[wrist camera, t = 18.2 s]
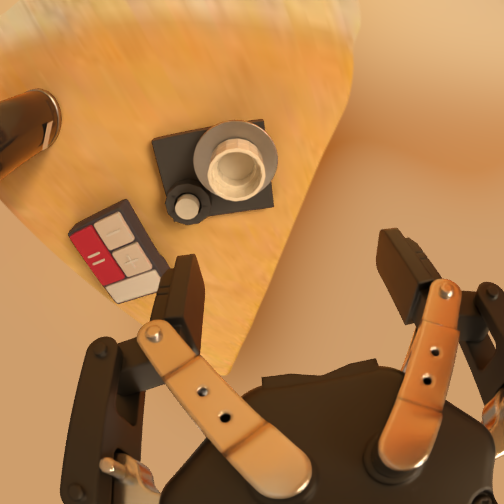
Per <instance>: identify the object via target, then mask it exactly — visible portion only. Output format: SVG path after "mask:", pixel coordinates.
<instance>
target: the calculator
mask: <svg viewBox="0 0 504 504" xmlns="http://www.w3.org/2000/svg"><path fill="white" fill-rule="evenodd" d="M68 236H69V237H70V239H71V241H72V242H73V244H74V245H75V247H76V248H77V250H78V251H79V253H80V254H81V256H82V257H83V259H84V260H85V262H86V263H87V265H88V266H89V267H90V269H91V270H92V272H93V273H94V274H95V276H96V277H97V279H98V280H99V281H100V283H101V284H102V285H103V286H104V288H105V289H106V290H107V292H108V293H109V294H110V296H111V297H112V298H113V300H114V301H115V302H116V303H117V304H120V303H123V302H127V301H130V300H133V299H137V298H140V297H143V296H146V295H150V294H153V293H156V292H157V290H158V286H159V282H160V278H161V277H162V275H163V274H164V273H165V272H166V270H167V269H170V267H169V266H168V264H167V262H166V261H165V259H164V257H162V256H161V255H160V254H159V253H158V251H157V249H156V248H155V246H154V244H153V243H152V241H151V239H150V238H149V236H148V234H147V233H146V231H145V229H144V228H143V226H142V224H141V222H140V221H139V219H138V217H137V215H136V214H135V212H134V210H133V208H132V207H131V205H130V203H129V201H128V200H127V199H124V200H122V201H120V202H118V203H116V204H114V205H112V206H110V207H108V208H106V209H104V210H102V211H100V212H98V213H96V214H94V215H92V216H90V217H88V218H86V219H84V220H82V221H80V222H78V223H77V224H75V225H74V227H73V228H72V229H71V230H70V231H69V233H68Z"/></svg>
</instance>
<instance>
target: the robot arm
mask: <svg viewBox="0 0 504 504" xmlns="http://www.w3.org/2000/svg"><path fill="white" fill-rule="evenodd" d="M60 128H61V111H60V107H59V104H58V102H57V100H56V99H55V97H54V96H53V95H52V94H51V93H49V92H48V91H46V90H43V89H33V90H30V91H27V92H25V93H23V94H20V95H17V96H14V97H11V98H8V99H6V100H3V101H0V180H2V179H3V178H4V177H6V176H7V175H8V174H9V173H11V172H12V171H13V170H15V169H16V168H17V167H19V166H20V165H22V164H23V163H24V162H26V161H27V160H29V159H30V158H31V157H33V156H34V155H36V154H37V153H39V152H40V151H43V150H45V149H46V148H48V147H49V146H50V145H51V144H52V143H53V142H54V141H55V140H56V138H57V136H58V134H59V131H60ZM376 265H377V270H378V272H379V274H380V276H381V278H382V279H383V281H384V283H385V285H386V287H387V289H388V291H389V293H390V295H391V297H392V299H393V301H394V303H395V305H396V307H397V309H398V311H399V313H400V315H401V318H402V320H403V322H404V324H405V325H408V324H412V323H415V325H416V328H415V331H414V334H413V337H412V340H411V343H410V346H409V349H408V352H407V355H406V358H405V361H404V364H403V366H402V369H401V371H400V370H397V369H394V368H391V367H385V366H378V363H377V360H376V359H370V360H366V361H361V362H356V363H351V364H348V365H346V366H344V367H341V368H339V369H337V370H334V371H332V372H330V373H327V374H325V375H321V376H316V375H301V374H285V375H278V376H269V377H262V386H259V387H256V388H254V389H252V390H250V391H248V392H247V393H245V394H244V395H243V396H241V397H240V396H239V395H238V394H237V393H236V392H235V391H234V390H233V389H232V388H231V387H230V386H229V384H228V383H226V382H225V380H224V379H223V378H221V376H220V375H219V374H218V373H217V372H216V371H215V370H214V369H213V368H212V367H211V365H210V364H209V363H208V362H207V361H206V360H205V359H204V358H203V357H202V356H201V355H200V348H201V335H202V323H203V312H204V301H205V286H204V281H203V278H202V275H201V271H200V268H199V265H198V261H197V258H196V255H195V254H190V255H182V256H177V258H176V262H175V267H174V268H173V269H167V270H166V272H165V273H164V274H163V275H162V277H161V278H160V282H159V286H158V290H157V293H156V294H157V296H156V297H155V301H154V305H153V309H152V313H151V317H150V322H148V323H146V324H145V325H143V326H142V327H141V328H140V330H139V332H138V334H137V337H135V338H133V339H130V340H127V341H124V342H121V343H118V344H117V343H116V341H115V340H114V339H113V338H111V337H101V338H98V339H96V340H95V341H93V343H91V344H90V346H89V347H88V349H87V352H86V355H85V359H84V362H83V366H82V370H81V374H80V378H79V382H78V386H77V391H76V395H75V399H74V404H73V408H72V413H71V418H70V424H69V429H68V435H67V440H66V446H65V454H64V460H63V468H62V475H61V484H60V496H61V499H62V501H63V503H64V504H498V503H497V502H496V500H495V498H494V495H493V488H492V479H493V468H494V462H495V460H496V459H498V458H500V457H502V456H504V292H503V290H502V289H501V288H500V287H499V286H497V285H496V284H494V283H491V282H483V283H481V284H480V285H479V287H478V289H477V291H476V292H471V291H461V290H460V288H459V286H458V285H457V284H455V283H454V282H452V281H451V280H448V279H442V277H441V276H440V274H439V273H438V272H437V270H436V269H435V267H434V266H433V264H432V263H431V262H430V260H429V259H427V256H426V255H425V254H424V253H423V251H422V249H421V248H420V247H419V245H418V244H417V243H416V242H414V241H413V240H411V239H410V238H405V237H404V236H403V235H402V233H401V232H400V231H399V230H398V228H391V229H383V230H381V231H380V233H379V241H378V247H377V255H376ZM488 331H490V333H491V335H492V336H493V338H494V340H495V342H496V349H495V347H494V345H493V343H492V341H491V339H490V337H489V335H488ZM458 342H459V344H460V346H461V348H462V350H463V353H464V355H465V357H466V360H467V362H468V364H469V367H470V369H471V372H472V374H473V377H474V379H475V382H476V384H477V387H478V389H479V392H480V395H481V397H482V400H483V403H484V406H485V407H484V409H483V412H482V422H481V423H480V422H479V421H477V420H476V419H474V418H473V417H471V416H470V415H468V414H466V413H465V412H463V411H462V410H460V409H459V408H457V407H455V406H454V405H453V404H451V403H450V402H448V401H447V400H445V399H446V396H447V391H448V388H449V384H450V380H451V376H452V372H453V367H454V363H455V357H456V353H457V347H458ZM163 384H166V386H167V387H168V389H169V390H170V391H171V393H172V394H173V395H174V397H175V398H176V399H177V401H178V402H179V403H180V405H181V406H182V407H183V409H184V410H185V411H186V412H187V414H188V415H189V416H190V417H191V419H192V420H193V421H194V422H195V424H196V425H197V426H198V428H199V429H200V430H201V431H202V432H203V434H204V435H205V436H206V439H205V440H204V441H203V442H202V443H201V444H200V446H199V447H198V448H197V449H196V450H195V452H194V453H193V454H192V455H191V456H190V458H189V459H188V460H187V461H186V463H184V465H183V466H182V467H181V468H180V469H179V470H178V471H177V473H176V474H175V475H174V476H173V477H172V478H171V479H170V480H169V482H168V483H167V484H166V485H165V487H164V488H163V491H162V493H160V492H159V491H158V490H157V489H156V487H155V485H154V480H153V476H152V473H151V471H150V470H149V468H148V467H147V466H145V465H144V464H142V463H140V460H141V441H142V425H143V414H144V402H145V392H146V390H148V389H151V388H154V387H157V386H160V385H163Z"/></svg>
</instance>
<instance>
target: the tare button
mask: <svg viewBox="0 0 504 504" xmlns="http://www.w3.org/2000/svg"><path fill="white" fill-rule="evenodd" d="M199 206H200V203H199V200H198V198H197V197H196V196H194V195H192V194H183V195H181V196H180V197H179V198H178V200H177V203H176V206H175V211H176V213H177V215H178V216H179V217H181V218H183V219H192V218H194V217H195V216H196V215H197V214H198V211H199Z"/></svg>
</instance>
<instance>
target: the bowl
mask: <svg viewBox="0 0 504 504" xmlns="http://www.w3.org/2000/svg"><path fill="white" fill-rule="evenodd" d="M207 176H208V181H209V185H210V186H211V188H212V189H213V191H214V192H215V193H216V194H217V195H219V196H220V197H222V198H224V199H226V200H231V201H241V200H247V199H249V198H250V197H252V196H254V195H256V194H257V193H258V191H259V190H260V189H261V188H262V186H263V184H264V180H265V177H266V176H265V168H264V163H263V159H262V155H261V153H260V152H259V150H258V148H257V147H256V146H255V145H254V144H252V143H251V142H249V141H247V140H243V139H239V138H238V139H237V138H236V139H230V140H226V141H224V142H223V143H221V144H219V145H218V146H217V147H216V149H215V150H214V151H213V153H212V156H211V160H210V165H209V169H208V174H207Z"/></svg>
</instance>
